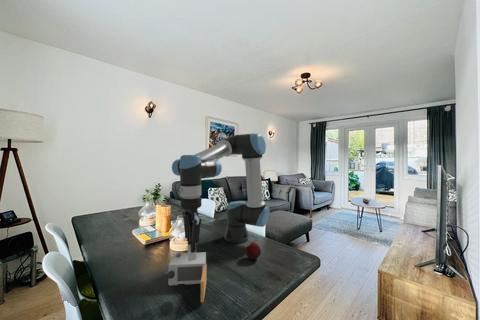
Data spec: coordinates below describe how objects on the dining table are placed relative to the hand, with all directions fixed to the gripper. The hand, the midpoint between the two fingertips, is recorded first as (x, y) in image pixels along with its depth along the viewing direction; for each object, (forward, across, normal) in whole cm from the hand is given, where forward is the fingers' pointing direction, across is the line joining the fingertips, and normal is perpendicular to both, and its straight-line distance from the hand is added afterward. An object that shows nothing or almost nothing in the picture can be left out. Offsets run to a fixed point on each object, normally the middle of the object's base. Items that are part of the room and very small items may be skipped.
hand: (192, 259), depth 76 cm
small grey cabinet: (+13, -10, +2) cm, 16 cm away
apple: (+14, -8, +35) cm, 38 cm away
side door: (+11, +3, +3) cm, 12 cm away
